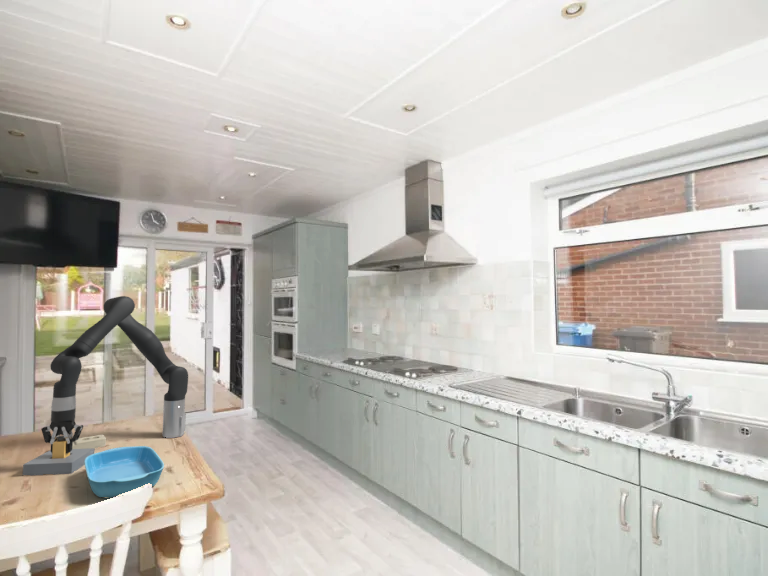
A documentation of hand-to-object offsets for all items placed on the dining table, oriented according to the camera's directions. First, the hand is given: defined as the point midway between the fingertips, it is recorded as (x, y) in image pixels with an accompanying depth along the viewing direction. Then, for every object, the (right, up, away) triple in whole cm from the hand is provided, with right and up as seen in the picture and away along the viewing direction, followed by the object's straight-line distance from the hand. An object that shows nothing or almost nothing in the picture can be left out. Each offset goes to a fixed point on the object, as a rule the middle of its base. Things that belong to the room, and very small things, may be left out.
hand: (61, 452), depth 160 cm
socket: (0, -5, 0) cm, 5 cm away
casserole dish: (+31, -6, -12) cm, 34 cm away
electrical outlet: (-8, -7, +20) cm, 23 cm away
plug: (0, -2, 0) cm, 2 cm away
